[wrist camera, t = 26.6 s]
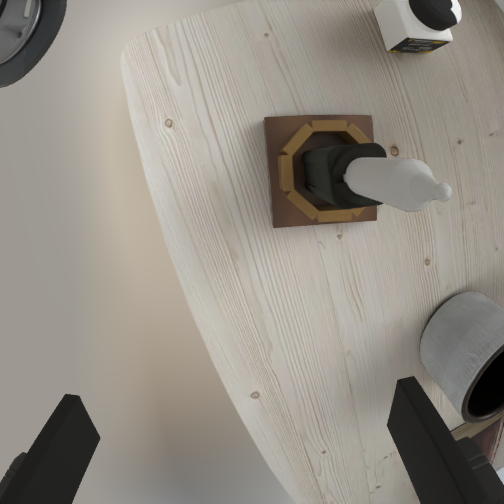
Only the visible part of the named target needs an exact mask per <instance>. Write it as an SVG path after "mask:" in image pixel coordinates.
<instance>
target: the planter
mask: <svg viewBox="0 0 504 504" xmlns="http://www.w3.org/2000/svg"><path fill="white" fill-rule="evenodd" d="M420 359H421V362H422V364H423V366H424V367H425V369H426V370H427V372H428V373H429V374H430V376H431V377H432V378H433V379H434V381H435V382H436V383H437V385H438V386H439V387H440V389H441V390H442V391H443V393H444V394H445V395H446V397H447V398H448V399H449V401H450V402H451V403H452V405H453V406H454V407H455V409H456V410H457V412H458V413H459V415H460V416H461V417H462V419H463V420H464V421H465V422H467V423H470V424H478V423H482V422H485V421H487V420H489V419H491V418H493V417H495V416H497V415H498V414H500V413H501V412H502V411H504V309H503V308H501V307H500V306H499V305H497V304H496V303H495V302H493V301H492V300H491V299H489V298H488V297H486V296H485V295H483V294H481V293H479V292H474V291H468V292H464V293H461V294H458V295H456V296H454V297H453V298H451V299H450V300H448V301H447V302H446V303H444V304H443V305H442V306H441V307H440V308H439V309H438V310H437V311H436V313H435V314H434V315H433V317H432V318H431V319H430V321H429V323H428V324H427V326H426V328H425V330H424V333H423V335H422V338H421V342H420Z"/></svg>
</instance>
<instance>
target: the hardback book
mask: <svg viewBox="0 0 504 504" xmlns="http://www.w3.org/2000/svg"><path fill="white" fill-rule="evenodd" d="M503 427H504V411H502V412H501V413H500V414H498V415H497V416H495V417H493V418H491V419H489V420H487V421H485V422H482V423H478V424H470V423H467V422H466V423H465V424H463V425H461V426H460V427H458V428H456V429H455V430H453V431H451V434H452V435H453V437H454V439H455V440H459V439H461V438H464V437H466V436H468V437H469V438H471V439H472V440H473V441H475V442H476V443H478V445H479V447H480V448H481V450H482V451H483V453H484V455H485V456H486V457H487V459H488V460H489V463H490V464H491V465H492V463H493V460H494V457H495V454H496V451H497V448H498V445H499V441H500V438H501V434H502V431H503Z"/></svg>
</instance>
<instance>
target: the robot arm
mask: <svg viewBox="0 0 504 504" xmlns="http://www.w3.org/2000/svg"><path fill="white" fill-rule="evenodd" d="M42 14H43V0H0V66H1V65H4V64H6V63H8V62H10V61H11V60H12V59H14V58H15V57H16V56H17V55H18V54H19V53H20V52H21V51H22V50H23V49H24V48H25V47H26V45H27V44H28V43H29V41H30V40H31V38H32V37H33V35H34V34H35V32H36V30H37V28H38V26H39V23H40V21H41V18H42ZM387 427H388V429H389V431H390V434H391V436H392V438H393V440H394V443H395V445H396V447H397V449H398V452H399V454H400V456H401V458H402V461H403V463H404V465H405V468H406V470H407V472H408V475H409V477H410V479H411V482H412V484H413V486H414V489H415V491H416V494H417V496H418V498H419V501H420V503H421V504H504V485H503V483H502V481H501V480H500V478H499V477H498V475H497V473H496V472H495V470H494V468H493V467H492V465H491V464H490V463H489V460H488V459H487V457H486V456H485V455H484V453H483V451H482V450H481V448H480V447H479V445H478V443H476V442H475V441H473V440H472V439H471V438H469V437H468V436H466V437H464V438H461V439H459V440H455V439H454V437H453V435H452V434H451V432H450V430H449V429H448V427H447V426H446V424H445V423H444V421H443V419H442V418H441V416H440V415H439V413H438V412H437V410H436V408H435V407H434V405H433V404H432V402H431V401H430V399H429V398H428V396H427V395H426V393H425V392H424V390H423V389H422V387H421V386H420V384H419V383H418V381H417V380H416V378H415V377H414V376H412V377H408V378H403V379H399V380H397V385H396V389H395V394H394V398H393V403H392V407H391V411H390V415H389V419H388V423H387ZM99 440H100V436H99V434H98V432H97V430H96V428H95V426H94V425H93V423H92V421H91V419H90V417H89V415H88V413H87V411H86V409H85V407H84V405H83V403H82V401H81V398H80V396H77V395H70V394H65V395H64V397H63V398H62V400H61V401H60V403H59V404H58V406H57V407H56V409H55V410H54V412H53V413H52V415H51V416H50V418H49V420H48V421H47V423H46V424H45V426H44V427H43V429H42V430H41V432H40V434H39V435H38V437H37V438H36V440H35V441H34V443H33V445H32V446H31V448H30V449H29V451H28V453H24V452H22V453H21V454H20V455H19V456H17V457H16V458H15V459H14V461H13V462H12V464H11V465H10V467H9V469H8V470H7V472H6V474H5V476H4V477H3V479H2V480H1V482H0V504H72V502H73V500H74V497H75V495H76V492H77V490H78V488H79V485H80V483H81V481H82V478H83V476H84V474H85V472H86V469H87V467H88V465H89V463H90V460H91V458H92V456H93V454H94V451H95V449H96V447H97V445H98V443H99Z"/></svg>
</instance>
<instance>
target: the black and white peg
mask: <svg viewBox="0 0 504 504" xmlns="http://www.w3.org/2000/svg"><path fill="white" fill-rule="evenodd" d="M301 162H302V163H303V164H304V171H305V178H306V183H305V187H306V189H307V190H308V191H309V192H311V193H313V194H315V195H317V196H318V197H320V198H322V199H324V200H326V201H328V202H330V203H331V204H333V205H335V206H337V207H339V208H340V209H354V208H361V207H369V206H376V205H381V204H383V203H385V204H388V205H390V206H393V207H396V208H398V209H401V210H404V211H407V212H417V211H420V210H422V209H424V208H425V207H427V205H428V204H429V203H430V202H431V201H433V200H436V199H439V200H440V201H444V202H445V201H447V200H449V199H450V197H451V193H452V191H451V188H450V186H449V185H448V184H446V183H439V182H438V181H437V180H435V179H434V176H433V174H432V172H431V170H430V169H429V167H428V166H427V165H426V164H425V163H423V162H422V161H420V160H417V159H411V158H387V156H386V152H385V150H384V149H383V147H382V146H380V145H379V144H377V143H361V144H350V145H339V146H333V147H326V148H320V149H314V150H309V151H306V152H305V153H304V154H303V155H302V159H301Z"/></svg>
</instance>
